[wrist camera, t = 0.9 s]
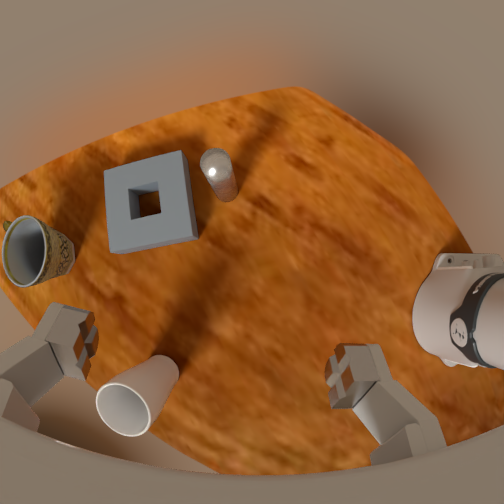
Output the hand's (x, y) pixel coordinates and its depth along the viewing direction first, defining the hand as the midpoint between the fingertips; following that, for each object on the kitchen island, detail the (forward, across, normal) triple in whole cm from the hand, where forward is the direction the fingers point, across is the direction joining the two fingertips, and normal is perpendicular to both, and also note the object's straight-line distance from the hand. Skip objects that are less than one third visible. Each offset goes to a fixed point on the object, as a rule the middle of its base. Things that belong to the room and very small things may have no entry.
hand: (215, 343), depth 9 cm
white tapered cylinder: (+19, +5, +32) cm, 37 cm away
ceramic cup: (+31, +27, +22) cm, 46 cm away
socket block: (+34, +10, +13) cm, 37 cm away
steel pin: (+34, 0, +9) cm, 36 cm away
